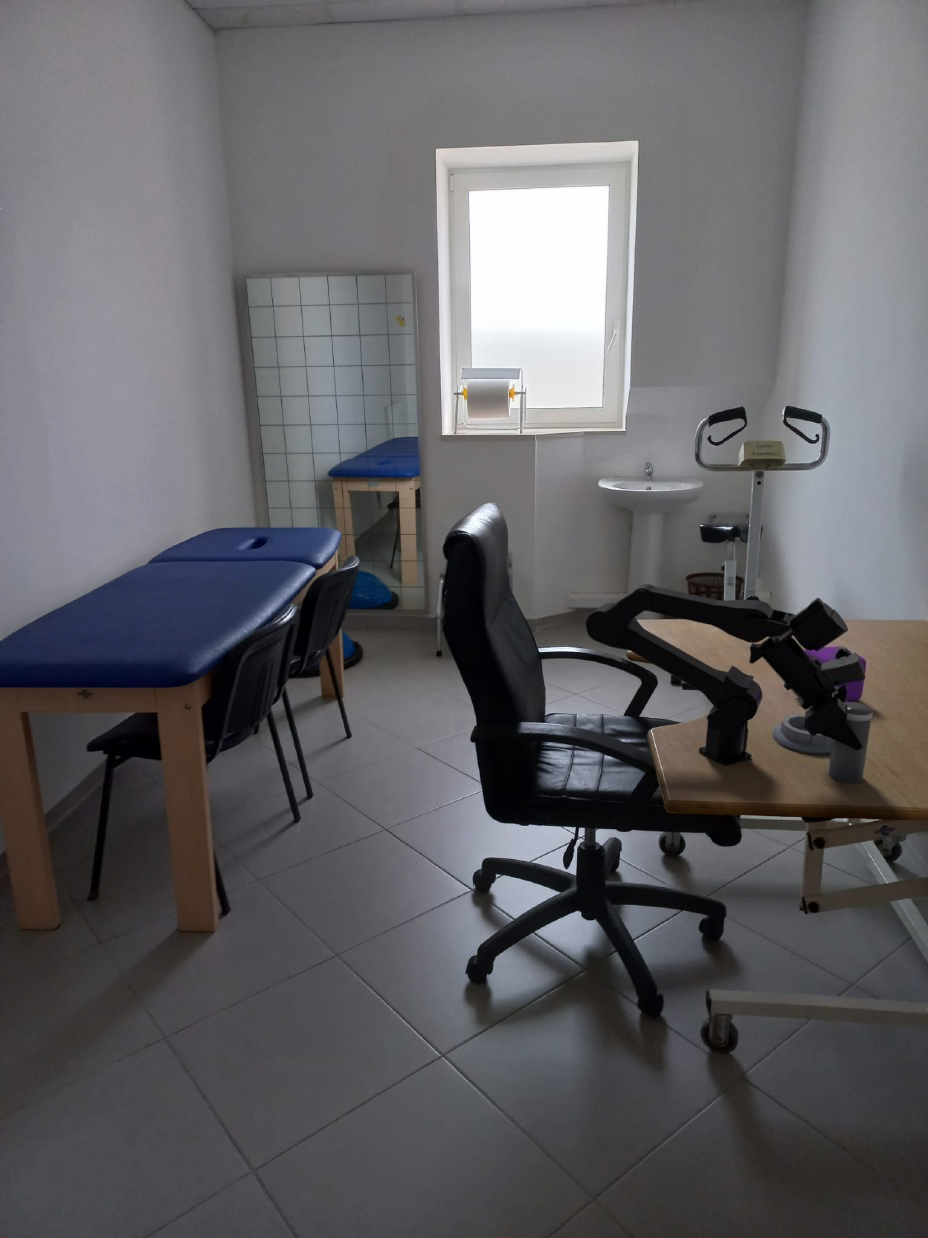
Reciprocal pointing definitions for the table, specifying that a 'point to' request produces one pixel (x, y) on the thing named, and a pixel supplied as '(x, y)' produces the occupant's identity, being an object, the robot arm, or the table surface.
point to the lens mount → (800, 736)
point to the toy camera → (852, 688)
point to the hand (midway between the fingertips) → (860, 740)
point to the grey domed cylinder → (844, 758)
